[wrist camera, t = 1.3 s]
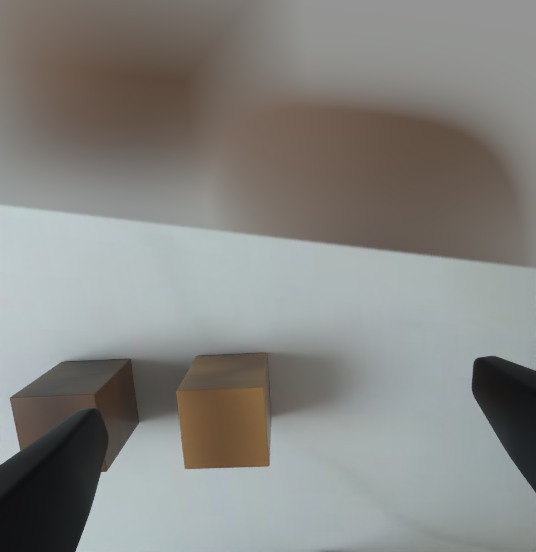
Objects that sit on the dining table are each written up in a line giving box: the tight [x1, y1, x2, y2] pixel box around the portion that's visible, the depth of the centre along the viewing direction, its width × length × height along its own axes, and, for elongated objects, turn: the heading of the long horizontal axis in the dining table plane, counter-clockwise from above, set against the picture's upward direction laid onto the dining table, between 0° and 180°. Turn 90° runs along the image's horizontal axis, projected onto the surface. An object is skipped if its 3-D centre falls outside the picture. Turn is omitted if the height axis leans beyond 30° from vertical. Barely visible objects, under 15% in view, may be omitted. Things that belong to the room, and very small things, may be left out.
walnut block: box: [10, 359, 139, 472], centre depth 23 cm, size 5×5×5 cm
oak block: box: [176, 353, 271, 469], centre depth 23 cm, size 5×5×5 cm
